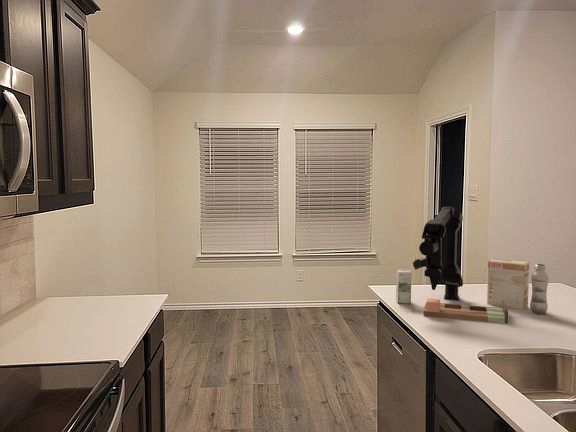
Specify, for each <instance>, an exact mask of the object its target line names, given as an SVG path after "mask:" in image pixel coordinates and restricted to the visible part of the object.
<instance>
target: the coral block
mask: <svg viewBox="0 0 576 432" xmlns="http://www.w3.org/2000/svg"><path fill="white" fill-rule="evenodd" d="M440 303H441V299H437V298H427V299H426V302H425V304H426V311H427V312H438V313H439V312H440Z"/></svg>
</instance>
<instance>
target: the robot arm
mask: <svg viewBox="0 0 576 432" xmlns="http://www.w3.org/2000/svg"><path fill="white" fill-rule="evenodd" d="M463 217H464V216H463V214H462V212H460V211H459V210H457V209H455V207H453V206H443V207H441V208H440V211H439V213H437V215H436V217H435V218H434V219H433V218H432V219H430V220H428V221H426V224H424V226H423V231H422V233H421V234H422V235H421V239H423V240H424V241H422V242H421V243H420V245H419V247H418V249H419V250H418V251H419V252H420V254H422V255H423V256H425V257H421V258H417V259H414V260H413V261H412V265H413V268H414V270H415V271H416V270H419V269H421V268H424V267H425V268H426V269H424V277H428V278H429V280H430V286H431V290H432V291H435V290H436V288H437V285H439V282H440V284H441V286H442V285H443V286H444V295H443V299H444V300H453V301H459V300H460V295H459V288H460V287H464V280H463V276H462V273H461V269H460V267H459V266H458V264H457V259H458V258H457V257H458V255H457V254H458V253H457V252H458V251H457V250H458V247H457V246H458V231H460V228H461V227H462V223H463V220H464V218H463ZM445 235H446V236H445ZM445 237H446V239H445V240H446V243H445V244H446V245H445V249H446V250H445V264H444V265H443V263H442V261H443V260H442V257H443V253H442V251H443V250H442V249H443V246H442V245H443V239H444V238H445Z"/></svg>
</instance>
